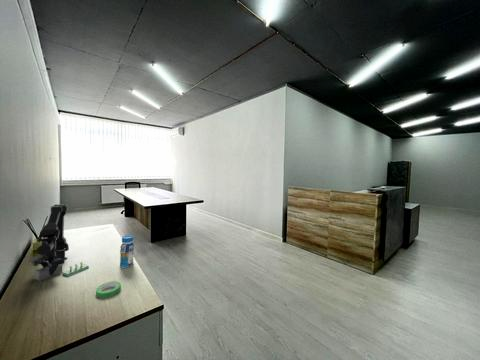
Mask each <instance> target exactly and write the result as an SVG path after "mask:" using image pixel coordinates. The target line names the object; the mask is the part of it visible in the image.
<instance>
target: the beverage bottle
mask: <svg viewBox="0 0 480 360" xmlns="http://www.w3.org/2000/svg"><path fill="white" fill-rule="evenodd" d="M133 241H134V236H133V235H124V236H122V237H121V245H120V250H119V253H120V256H119V257H120V260H119V267H120V268H122V269H124V268H126V267H127V268H130V267H132V266H133V265H134V256H135V255H134V254H135V253H134V252H135V244H134V242H133ZM129 266H130V267H129Z"/></svg>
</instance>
